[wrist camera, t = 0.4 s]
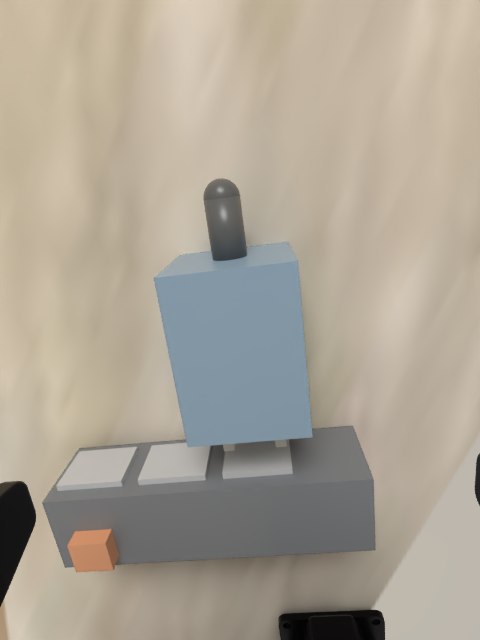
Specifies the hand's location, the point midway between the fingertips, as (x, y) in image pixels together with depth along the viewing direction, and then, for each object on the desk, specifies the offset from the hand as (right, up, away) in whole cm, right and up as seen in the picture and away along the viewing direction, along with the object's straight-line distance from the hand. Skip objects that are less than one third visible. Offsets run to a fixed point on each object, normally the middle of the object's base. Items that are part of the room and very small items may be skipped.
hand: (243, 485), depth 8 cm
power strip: (-1, -5, +14) cm, 15 cm away
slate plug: (0, +3, +12) cm, 12 cm away
